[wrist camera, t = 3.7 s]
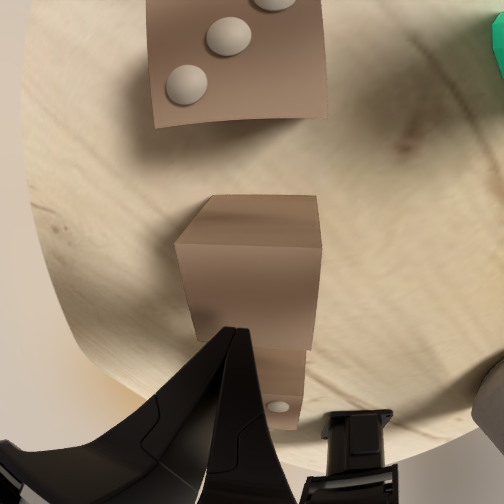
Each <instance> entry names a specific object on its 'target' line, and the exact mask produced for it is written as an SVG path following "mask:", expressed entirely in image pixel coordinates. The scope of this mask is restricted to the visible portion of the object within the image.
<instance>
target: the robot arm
mask: <svg viewBox="0 0 504 504" xmlns="http://www.w3.org/2000/svg"><path fill="white" fill-rule="evenodd" d="M392 416H393V411H392V410H388V411H373V412H349V413H331V414H330V415H329V417H328V420H327V422H326V425H325V427H324V430H323V432H322V434H321V439H328V453H327V470H326V476H321V477H313V476H310V477H307V480H306V483H305V484H304V488H303V491H302V495H301V499H300V502H299V504H399V472H398V464H393V465H392V466H388V467H385V458H384V439H383V428H384V427H385V425H386V424H387V423H388V421H389V420H390V419H391V417H392ZM206 469H207V471H206ZM205 471H206V473H207V475H206V478H205V483H204V487H203V490H202V493H201V495H200V498H199V500H198V502H197V504H297V502H296V500H295V498H294V496H293V494H292V491H291V489H290V487H289V484H288V482H287V479H286V477H285V474H284V472H283V469H282V467H281V465H280V462H279V459H278V457H277V454H276V451H275V448H274V445H273V443H272V440H271V436H270V432H269V428H268V423H267V418H266V414H265V409H264V404H263V398H262V393H261V388H260V383H259V378H258V372H257V367H256V362H255V356H254V351H253V345H252V340H251V334H250V330H249V329H248V328H240V327H238V328H236V327H229V326H224V327H223V328H222V329H221V330H220V331H219V332H218V333H217V334H216V335H215V336H214V337H213V338H212V339H211V340H210V341H209V342H208V343H207V344H206V345H205V346H204V347H203V348H202V349H201V350H200V351H199V352H197V353H196V354H195V355H194V356H193V357H192V358H191V359H190V360H189V361H188V362H187V363H186V364H185V365H184V366H183V367H182V368H181V369H180V370H179V371H178V372H177V373H176V374H175V375H174V376H173V377H172V378H171V379H170V380H169V381H168V382H167V383H165V384H164V385H163V386H162V387H161V388H160V389H159V390H158V391H157V392H156V394H154V395H153V396H152V397H151V398H149V399H148V400H147V401H146V402H145V403H144V404H143V405H142V406H141V407H139V408H138V409H137V410H136V411H135V412H133V413H132V414H131V415H130V416H128V417H127V418H126V419H124V420H123V421H122V422H120V423H119V424H117V425H116V426H114V427H113V428H112V429H110V430H109V431H107V432H106V433H104V434H103V435H102V436H100V437H99V438H97V439H96V440H94V441H92V442H90V443H88V444H85V445H82V446H77V447H71V448H64V449H56V450H48V451H37V452H26V451H23V450H21V449H20V448H19V447H17V446H16V445H14V444H13V443H12V442H10V441H9V440H6V439H5V440H1V441H0V504H195V501H196V498H197V496H198V492H199V489H200V486H201V484H202V481H203V477H204V475H205ZM391 479H392V482H391V483H387V484H385V481H386V480H391Z"/></svg>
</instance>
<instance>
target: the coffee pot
mask: <svg viewBox="0 0 504 504" xmlns="http://www.w3.org/2000/svg"><path fill="white" fill-rule="evenodd" d="M471 416H472V418H473V420H474V421H475V423H476V424H477V425H478V426H479V427H480V428H481V429H482V430H483V432H484V433H485V434H486V435H487V436H488V437H489V439H490V440H491V441H492V442H493V443H494V444H495V446H496V447H497V448H498V449H499V451H500V452H501V453H502V454H503V455H504V358H503V359H502V360H501V361H500V362H499V363H497V364H496V365H495V366H494V367H493V368H492V369H491V370H490V371H489V373H488V374H487V375H486V376H485V378H484V379H483V381H482V384H481V388H480V389H479V391H478V392H477V395H476V397H475V399H474V402H473V406H472V412H471Z"/></svg>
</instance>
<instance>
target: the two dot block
mask: <svg viewBox="0 0 504 504" xmlns="http://www.w3.org/2000/svg"><path fill="white" fill-rule="evenodd" d="M253 351H254V356H255V362H256V367H257V372H258V378H259V383H260V388H261V393H262V398H263V404H264V409H265V414H266V418H267V423H268V428H270V429H283V430H297V426H298V421H299V416H300V411H301V406H302V401H303V394H304V379H305V362H306V350H289V349H273V348H260V347H253Z"/></svg>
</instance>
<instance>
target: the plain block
mask: <svg viewBox="0 0 504 504" xmlns="http://www.w3.org/2000/svg"><path fill="white" fill-rule="evenodd" d="M174 246H175V251H176V255H177V260H178V264H179V269H180V273H181V277H182V281H183V286H184V290H185V294H186V298H187V302H188V306H189V310H190V313H191V317H192V321H193V325H194V328H195V332H196V335H197V339H198V341H203V342H209V341H210V340H211V339H212V338H213V337H214V336H215V335H216V334H217V333H218V332H219V331H220V330H221V329H222V328H223V327H224V326H229V327H236V328H238V327H240V328H248V329H249V330H250V334H251V340H252V345H253V347H260V348H273V349H289V350H311V347H312V340H313V332H314V325H315V316H316V308H317V299H318V290H319V280H320V269H321V257H322V241H321V231H320V222H319V214H318V205H317V198H316V196H308V195H213V196H212V197H211V198H210V199H209V201H208V202H207V203H206V204H205V205H204V207H203V208H202V209H201V210H200V212H199V213H198V214H197V215H196V216H195V218H194V219H193V220H192V221H191V223H190V224H189V225H188V226H187V228H186V229H185V230H184V231H183V233H182V234H181V235H180V236H179V238H178V239H177V240H176V242H175V243H174Z"/></svg>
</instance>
